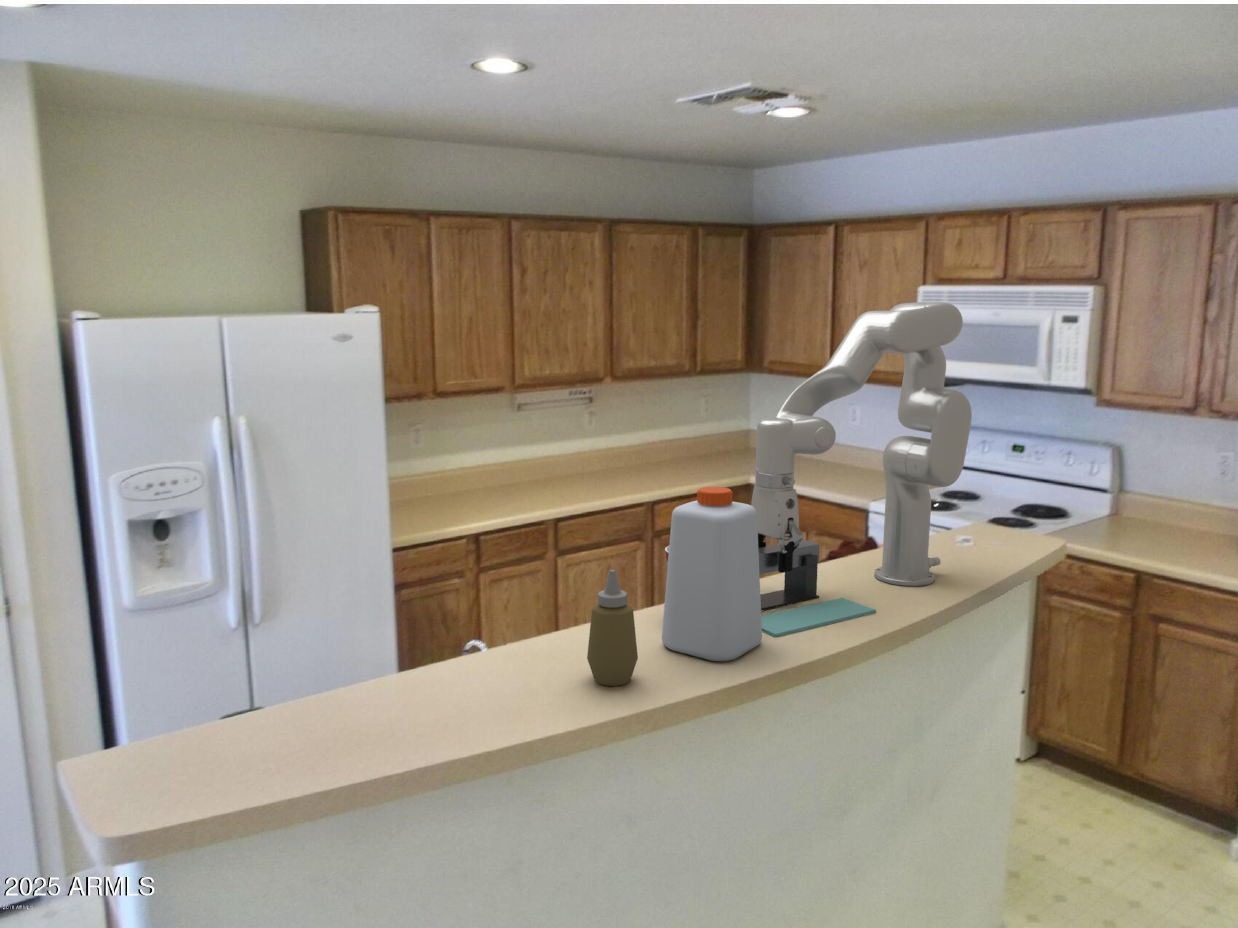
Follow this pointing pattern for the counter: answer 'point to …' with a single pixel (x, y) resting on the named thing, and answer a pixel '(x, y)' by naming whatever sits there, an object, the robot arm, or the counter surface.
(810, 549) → the rail
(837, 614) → the mat
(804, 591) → the brackets
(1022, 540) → the counter surface
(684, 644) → the plastic bottle
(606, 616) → the squeeze bottle
